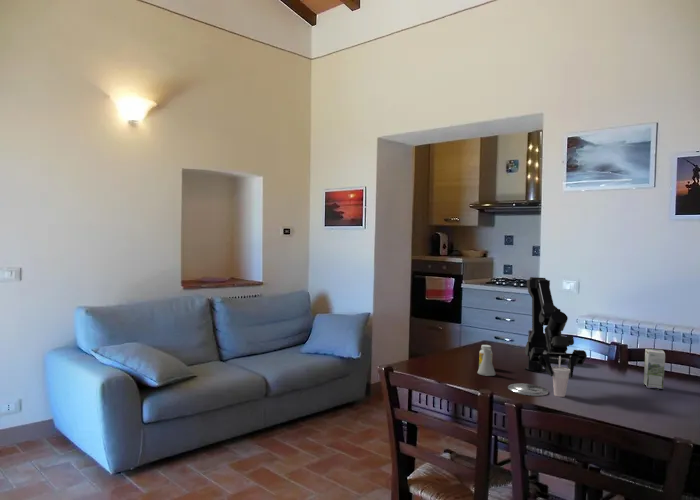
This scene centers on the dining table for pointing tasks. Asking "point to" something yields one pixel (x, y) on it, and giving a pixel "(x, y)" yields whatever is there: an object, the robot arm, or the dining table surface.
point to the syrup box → (654, 368)
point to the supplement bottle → (483, 353)
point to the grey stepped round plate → (528, 389)
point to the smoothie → (560, 379)
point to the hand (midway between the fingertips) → (561, 376)
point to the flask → (486, 364)
